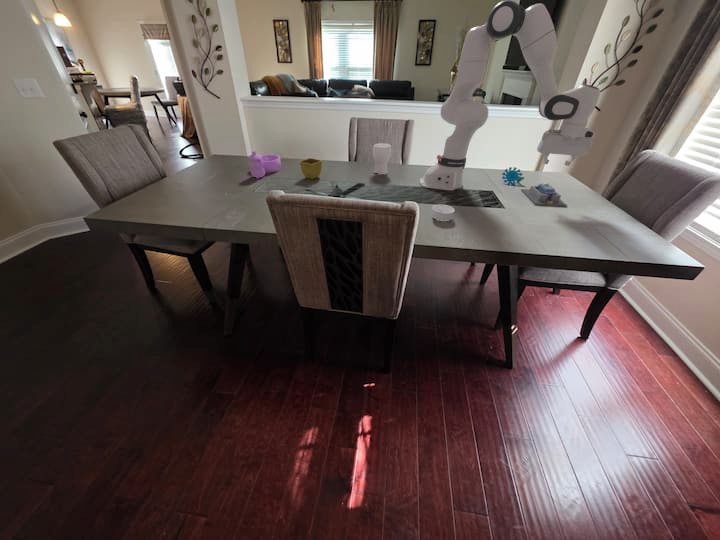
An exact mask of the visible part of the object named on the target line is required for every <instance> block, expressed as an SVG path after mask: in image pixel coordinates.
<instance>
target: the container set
mask: <svg viewBox="0 0 720 540" xmlns="http://www.w3.org/2000/svg"><path fill="white" fill-rule="evenodd" d="M248 160H249V161H248V164H249V166H250V168H251V169H250V174H251V176H252V177H253V178H254V177H256V178H255V179H261V178H260V177H262V178H264V177H265V174H270V173H269V172H274V173H276V172H275V171H277V172H280V171H281V170H282V169H281V168H282V162H281V161H282V160H281V156H279V155H278V154H277V155H276V154H259V153H257V151H256V150H255V151H251V154H250V155H249V156H248ZM280 169H281V170H280ZM279 170H280V171H279ZM263 176H264V177H263Z"/></svg>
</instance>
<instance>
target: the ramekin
mask: <svg viewBox="0 0 720 540" xmlns="http://www.w3.org/2000/svg"><path fill="white" fill-rule="evenodd" d="M454 212H455V208H454V207H452V206H450V205H448V204H435V205H433V206H432V214H431V217H432V216H433V217H434V218H436V219H438V220H443V221H445V220H450V219H451V218H453V215H454ZM451 220H452V219H451ZM451 220H450V221H451Z"/></svg>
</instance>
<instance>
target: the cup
mask: <svg viewBox="0 0 720 540" xmlns="http://www.w3.org/2000/svg"><path fill="white" fill-rule="evenodd" d="M392 151H393V150H392V146H391V144H389V143H382V142H381V143H374V145H373V147H372V158H373V161H374V162H375V163H374V164H375V166H374V172H375V173H378V174H377V175H379V174H384V175H387V174H388V163H389V160H390V159H391V156H392ZM374 172H373V173H374ZM375 173H374V174H375Z"/></svg>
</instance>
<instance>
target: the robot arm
mask: <svg viewBox="0 0 720 540" xmlns="http://www.w3.org/2000/svg"><path fill="white" fill-rule="evenodd" d="M510 36H514V37H515V38H516V39H517V40H518V43H519V47H520V50H521V54H522V55H523V59H524V60H525V63H526V64H527V66H528V69H530V71H531V73H532V74H533V76H534V78H535V83H536V85H537V89H538V93H539V103H538V112H539V115H540V116H541V117H543V118H545V119H547V120H549V121H560V120H561V121H562V122H561V125H560V127H559V129H548V130H545V132H543V134H542V136H541V140H540V142H539V143H538V145H537V148H536V150H537V153H540V154H543V161H542V164H543V165H548V164H549V163H550V160H549V159H548V157H550V154H551V155H564V156H565V155H566V156H570V158H569V159H568V160H566V161H565V162H564V166H566V167H569V166H570V165H571V164H572V163H573V162H574V161H575V159H577V157H585V156H587V155H588V154H589V152H590V150H591V148H592V145H593V143H594V138H595V137H596V135H597V133H596V132H595V131H593V130H591V129H589V128H587V125H588V122H589V118H590V117H591V115H592V114H593V112H594V111H595V108H596V106H597V104H598V100H599V97H600V94H601V90H600V89H599V88H598V87H596V86H595V85H590V84H585V83H584V84H583V83H582V84H580V85H578V86H576V87H575V88H572V89H569V90H565V91H563V92H562V91H560V90H559V88H558V86H557V85H558V84H557V81H556V80H557V79H556V77H555V74H554V67H553V66H554V59H555V56H556V54H557V50H558V43H557V41H558V40H557V34H556V29H555V25H554V23H553V20H552V18H551V15H550V13H549V11H548V9H547V7H546V6H545V4H544V3H535V4H532V5H530V6H528V7H527V8H526V9H525V8H524V7H523V6H521V5H519V3H517V2H515V1H514V0H502V1H500V2H498V3H497V4H496V5H495V6H493V8H492V10H491V11H490V12H489V15H488V18H487V20H486V22H485V23H484V24H483V25H478V26H475V27H472V28H471V29H469V30H468V32H467V33H466V35H465V39H464V41H463V45H462V48H461V52H460V53H461V54H460V57H459V64H458V67H457V68H458V69H457V74H456V78H455V82H454V86H453V88H452V91H451V93H450V95H449V97H448V98H447V99H446V100H445V101H444V102H443V103H442V105H441V108H440V116H441V119H442V120H443V121H445V122H446V123H448V124H450V125H453V126H455V128H454V131H453V133H452V134H451V135H449V136H447V138H446V140H445V144H444V149H443V153H442V154H443V155H441V154H437V156H436V160H437V163H435V164H434V165H432V166H431V167H428V168H427V170H426V172H425V173H424V176H422V177H420V178H419V185H420V186H421V187H423V188H427V189H435V190H441V191H442V190H444V191H455V190H456V189H461V188H462V187H463V176H464V175H463V173H464V169H465V167H466V163H467V154H468V149H469V147H470V146H469V145H470V142H471V140H472V138H473V136H474V135H475V133H476V132H477V131H478V130H479V129H480V128H482V127H483V126H484V124H486V122H487V120H488V118H489V108H488V106H487V105H486V104H484V103H483V102H480V101H478V100H473V99H472V96H473V94H474V92H475V91H476V89H477V88H479V87H480V86H481V85H482V84H483V82H484V77H485V72H486V68H487V64H488V58H489V53H490V50H491V47H492V45H493V44H494V43H496V42H498V41H501V40H505V39H507V38H509V37H510Z"/></svg>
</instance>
